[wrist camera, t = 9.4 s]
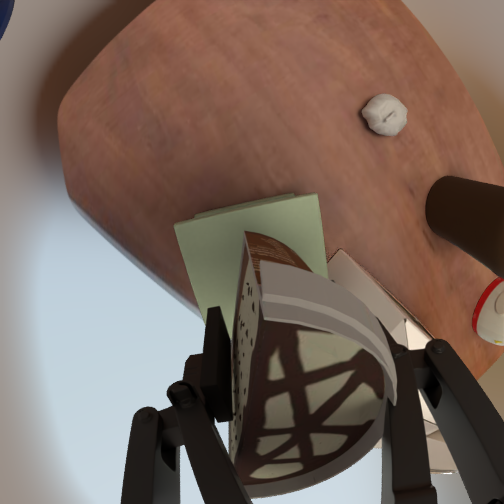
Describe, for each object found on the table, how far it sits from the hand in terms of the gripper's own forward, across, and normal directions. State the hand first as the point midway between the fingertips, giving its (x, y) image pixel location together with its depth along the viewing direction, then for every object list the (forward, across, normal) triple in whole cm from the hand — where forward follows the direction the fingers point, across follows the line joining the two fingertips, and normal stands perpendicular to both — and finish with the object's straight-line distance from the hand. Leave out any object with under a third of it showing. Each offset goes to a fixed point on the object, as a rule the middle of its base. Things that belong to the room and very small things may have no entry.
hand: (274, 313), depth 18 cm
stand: (+20, 0, -3) cm, 20 cm away
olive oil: (+20, +30, -3) cm, 36 cm away
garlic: (+20, +19, +11) cm, 30 cm away
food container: (+1, +1, 0) cm, 1 cm away
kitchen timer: (+20, +47, -27) cm, 58 cm away
